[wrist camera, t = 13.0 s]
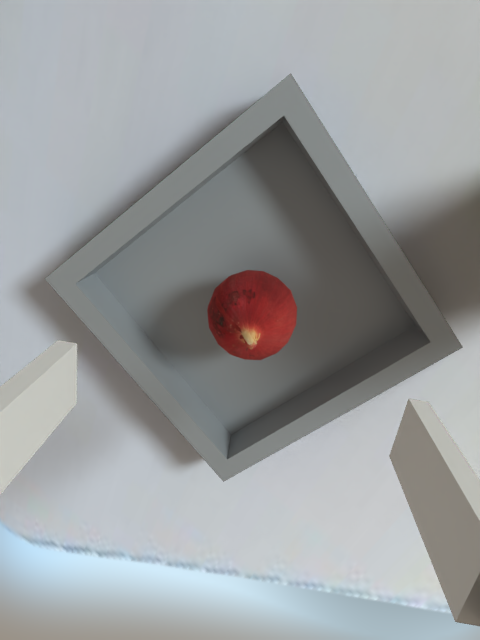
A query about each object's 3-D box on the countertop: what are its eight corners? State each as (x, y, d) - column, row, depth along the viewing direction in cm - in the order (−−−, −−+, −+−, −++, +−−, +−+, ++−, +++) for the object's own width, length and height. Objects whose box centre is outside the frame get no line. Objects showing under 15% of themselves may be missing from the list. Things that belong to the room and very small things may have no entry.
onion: (206, 318, 32) (181, 362, 24) (232, 248, 30) (215, 272, 22) (277, 346, 32) (274, 399, 24) (308, 278, 30) (316, 313, 22)
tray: (71, 266, 32) (44, 278, 28) (288, 87, 27) (290, 73, 23) (228, 449, 36) (223, 481, 33) (439, 326, 31) (462, 347, 27)
